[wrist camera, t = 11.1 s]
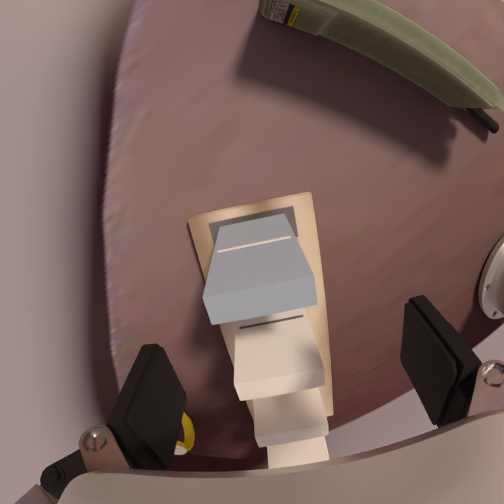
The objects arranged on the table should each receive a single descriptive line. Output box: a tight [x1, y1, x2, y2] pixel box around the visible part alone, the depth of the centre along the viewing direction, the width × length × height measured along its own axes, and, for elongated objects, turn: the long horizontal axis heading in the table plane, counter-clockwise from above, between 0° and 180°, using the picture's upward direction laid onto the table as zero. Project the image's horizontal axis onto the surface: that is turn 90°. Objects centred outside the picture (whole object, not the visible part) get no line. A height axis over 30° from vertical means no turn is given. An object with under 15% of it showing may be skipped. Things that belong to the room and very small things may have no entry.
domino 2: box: [234, 307, 325, 401], centre depth 21 cm, size 2×5×11 cm, turn 102°
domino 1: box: [203, 214, 318, 325], centre depth 19 cm, size 2×5×11 cm, turn 102°
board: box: [188, 192, 333, 421], centre depth 29 cm, size 10×28×1 cm, turn 12°
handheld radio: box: [258, 0, 504, 133], centre depth 17 cm, size 7×3×25 cm
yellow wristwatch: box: [174, 412, 195, 455], centre depth 31 cm, size 6×3×6 cm, turn 21°
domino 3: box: [253, 387, 329, 447], centre depth 24 cm, size 2×5×11 cm, turn 102°
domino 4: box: [267, 436, 330, 469], centre depth 26 cm, size 2×5×11 cm, turn 102°
